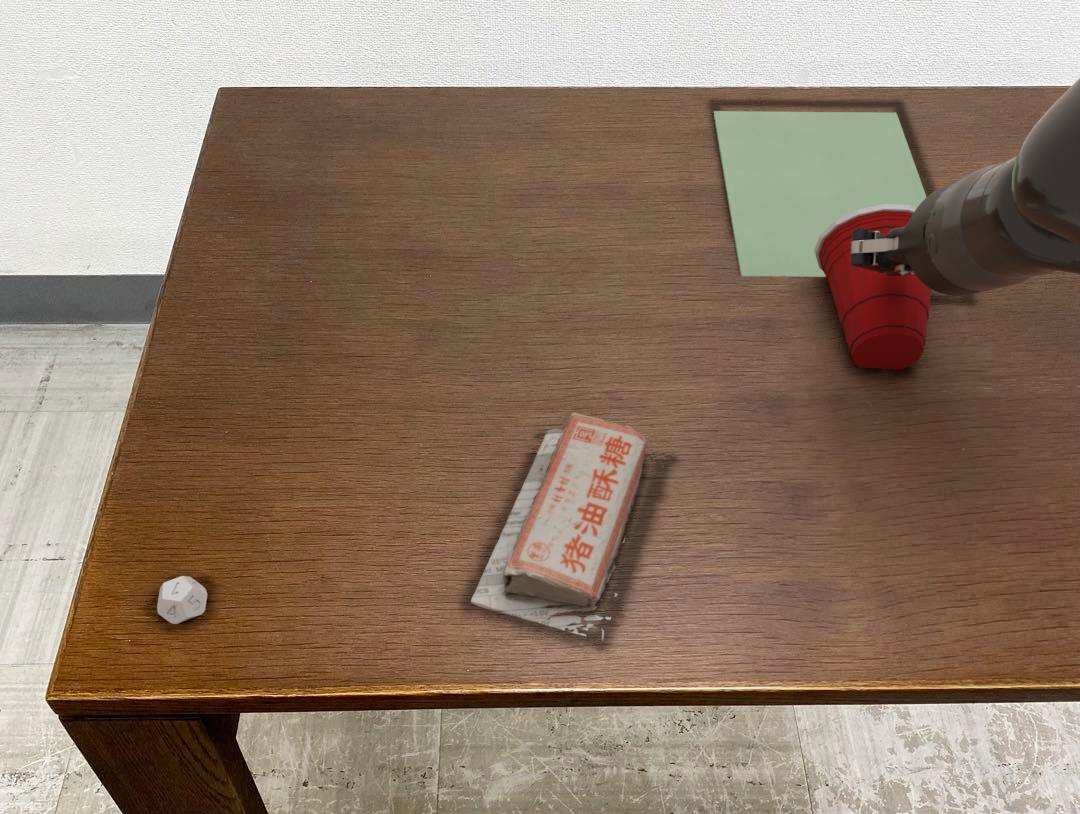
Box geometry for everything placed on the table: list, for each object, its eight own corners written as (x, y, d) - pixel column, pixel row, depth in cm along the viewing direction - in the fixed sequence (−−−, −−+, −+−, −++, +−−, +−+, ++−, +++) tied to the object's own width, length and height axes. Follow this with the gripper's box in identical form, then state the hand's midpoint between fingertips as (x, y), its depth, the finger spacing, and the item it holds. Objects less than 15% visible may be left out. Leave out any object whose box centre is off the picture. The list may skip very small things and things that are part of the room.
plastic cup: (822, 316, 82) (815, 202, 87) (818, 392, 92) (812, 286, 97) (967, 305, 80) (951, 189, 85) (947, 385, 89) (934, 277, 94)
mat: (895, 115, 113) (896, 112, 113) (965, 312, 94) (966, 308, 94) (713, 114, 113) (713, 110, 113) (745, 310, 94) (746, 306, 94)
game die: (220, 594, 75) (209, 570, 73) (202, 637, 73) (190, 614, 71) (174, 587, 76) (162, 564, 73) (154, 630, 73) (141, 607, 71)
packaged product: (548, 396, 81) (672, 426, 79) (547, 438, 85) (665, 468, 83) (466, 576, 70) (606, 615, 69) (469, 614, 74) (602, 652, 73)
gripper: (1094, 171, 66) (980, 215, 83) (887, 169, 66) (815, 213, 83) (1084, 291, 67) (973, 310, 84) (880, 289, 67) (811, 309, 84)
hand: (895, 262), depth 83 cm, fingers closed
